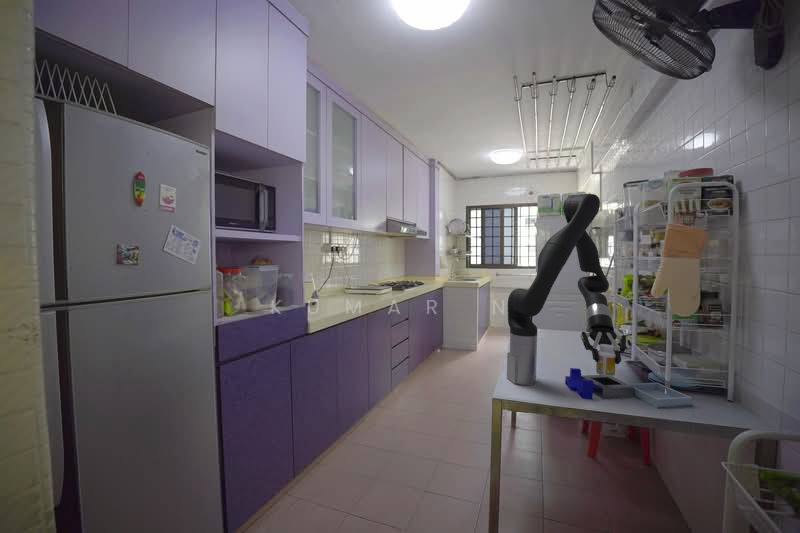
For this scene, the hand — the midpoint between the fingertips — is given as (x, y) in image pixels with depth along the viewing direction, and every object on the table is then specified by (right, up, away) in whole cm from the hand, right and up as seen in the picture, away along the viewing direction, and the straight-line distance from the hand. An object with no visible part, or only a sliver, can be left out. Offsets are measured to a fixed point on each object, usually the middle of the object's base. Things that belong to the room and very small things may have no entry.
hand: (607, 361), depth 111 cm
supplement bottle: (0, -5, +2) cm, 5 cm away
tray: (+14, -11, -3) cm, 18 cm away
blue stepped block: (-9, -11, +2) cm, 14 cm away
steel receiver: (+1, -11, +2) cm, 11 cm away
